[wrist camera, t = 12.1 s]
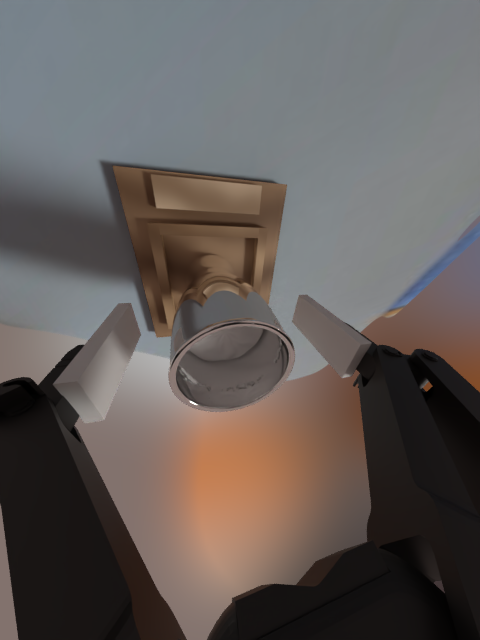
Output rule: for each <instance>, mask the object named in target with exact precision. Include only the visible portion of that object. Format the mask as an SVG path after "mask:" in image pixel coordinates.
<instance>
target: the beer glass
mask: <svg viewBox="0 0 480 640" xmlns="http://www.w3.org/2000/svg"><path fill="white" fill-rule="evenodd" d="M186 285H187V288H186V289H185V291H184V292H183V294H182V296H181V298H180V300H179V302H178V305H177V307H176V311H175V315H174V319H173V325H172V333H171V348H170V368H169V384H170V387H171V389H172V391H173V393H174V394H175V395H176V397H178V399H179V400H181V401H182V402H183V403H185V404H186V405H188V406H190V407H193V408H196V409H199V410H204V411H210V412H224V411H232V410H237V409H241V408H244V407H248V406H250V405H253V404H255V403H257V402H259V401H261V400H263V399H265V398H266V397H268V396H269V395H271V394H272V393H273V392H275V391H276V390H277V389H278V388H279V387H280V386H281V385H282V384H283V383H284V382H285V381H286V379H287V378H288V376H289V374H290V373H291V371H292V368H293V365H294V361H295V350H294V346H293V343H292V341H291V339H290V338H289V336H288V335H287V334H286V333H285V331H284V330H283V328H282V326H281V325H280V323H279V321H278V319H277V318H276V316H275V315H274V313H273V311H272V310H271V308H270V307H269V306H268V304H267V303H266V301H265V300H264V299H263V297H262V296H261V295H260V294H259V293H258V292H257V291H256V290H255V289H254V288H253V287H252V286H251V285H250V284H248V283H247V282H246V281H244V280H243V279H241V278H239V277H238V276H236V275H235V272H234V269H233V267H232V266H231V264H230V263H229V262H228V261H227V260H226V259H224V258H222V257H220V256H217V255H203V256H200V257H198V258H197V259H195V260H194V261H193V262H192V263H191V264H190V266H189V267H188V269H187V272H186Z"/></svg>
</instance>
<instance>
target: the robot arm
mask: <svg viewBox="0 0 480 640" xmlns="http://www.w3.org/2000/svg"><path fill="white" fill-rule="evenodd" d="M292 322H293V323H294V324H295V326H296V327H297V328H298V329H299V330H300V331H301V332H302V334H303V335H304V336H305V337H306V338H307V339H308V340H309V341H310V343H311V344H312V345H313V346H314V347H315V348H316V349H317V350H318V352H319V353H320V354H321V355H322V356H323V357H324V358H325V359H326V361H327V362H328V363H329V364H330V365H331V366H332V367H333V368H334V369H335V371H336V372H337V373H338V374H339V375H340V376H341V377H342V378H345V377H350V376H352V375H353V374H354V372H355V370H357V371H359V373H360V374H359V376H358V377H357V379H356V380H355V382H354V384H353V386H355V385H356V384H359V386H358V388H359V393H360V403H361V412H362V421H363V431H364V440H365V450H366V459H367V469H368V478H369V488H370V497H371V513H370V516H369V519H368V523H367V542H365V543H362V544H359V545H356V546H353V547H350V548H347V549H344V550H341V551H338V552H336V553H334V554H331V555H329V556H327V557H325V558H322V559H320V560H318V561H316V562H315V563H314V564H313V565H312V567H311V568H310V569H309V570H308V571H307V572H306V574H305V575H304V576H303V577H302V578H301V579H300V581H299V582H298V583H297V584H296V585H284V584H269V585H261V586H259V587H256V588H254V589H252V590H250V591H248V592H245V593H243V594H241V595H238V596H236V597H234V598H232V603H231V604H230V605H229V606H228V607H227V608H226V610H225V611H224V612H223V613H222V615H221V616H220V618H219V619H218V620H217V622H216V624H215V625H214V627H213V629H212V631H211V632H210V634H209V636H208V639H207V640H480V392H479V391H478V390H476V389H475V388H474V387H473V386H472V385H471V384H470V383H469V382H468V381H467V380H465V379H464V378H463V377H462V376H461V375H460V374H459V373H458V372H457V371H456V370H454V369H453V368H452V367H451V366H450V365H449V364H448V363H447V362H446V361H445V360H444V359H442V358H441V357H440V356H438V355H436V354H435V353H433V352H430V351H428V350H423V349H416V350H414V352H413V353H412V354H411V355H404V354H402V353H401V352H400V351H398V350H396V349H395V348H392V347H390V346H386V345H379V346H377V345H376V344H375V343H374V342H372V341H371V340H369V339H368V338H367V337H365V336H364V335H363V334H361V333H360V332H358V331H357V330H355V329H354V328H353V327H352V326H350V325H349V324H347V323H345V322H343V321H342V320H340V319H339V318H337V317H336V316H335V315H333V314H332V313H331V312H329V311H328V310H327V309H325V308H324V307H323V306H321V305H320V304H319V303H317V302H316V301H315V300H313V299H312V298H311V297H309V296H308V295H299V297H298V301H297V305H296V309H295V313H294V316H293V320H292ZM140 336H141V333H140V330H139V327H138V324H137V321H136V318H135V315H134V311H133V308H132V305H131V303H121V304H118V305H117V306H116V307H115V308H114V310H113V311H112V312H111V313H110V315H109V316H108V317H107V318H106V320H105V321H104V322H103V323H102V324H101V326H100V327H99V328H98V329H97V331H96V332H95V333H94V334H93V335H92V337H91V338H90V339H89V340H88V342H87V343H86V344H85V345H78V346H76V347H75V348H73V349H72V350H70V351H69V352H68V353H67V354H66V355H65V356H64V357H63V358H62V359H61V361H60V362H59V363H58V364H57V365H56V366H55V368H53V369H52V371H51V372H50V373H49V374H48V375H47V376H46V377H45V378H44V380H43V381H42V382H41V383H40V384H39V385H37V384H36V383H35V382H34V381H33V380H32V379H31V378H27V377H21V378H16V379H12V380H9V381H6V382H3V383H1V384H0V503H1V508H2V516H3V524H4V531H5V539H6V547H7V554H8V562H9V569H10V577H11V585H12V593H13V601H14V607H15V616H16V623H17V631H18V639H19V640H187V639H186V637H185V635H184V634H183V631H182V629H181V628H180V626H179V624H178V622H177V620H176V618H175V616H174V614H173V612H172V611H171V609H170V607H169V606H168V604H167V603H166V601H165V600H164V599H163V597H162V596H161V595H160V593H159V591H158V590H157V588H156V586H155V584H154V582H153V580H152V578H151V576H150V574H149V572H148V570H147V568H146V566H145V564H144V562H143V560H142V558H141V556H140V554H139V552H138V550H137V548H136V546H135V544H134V542H133V540H132V538H131V536H130V534H129V532H128V530H127V528H126V526H125V524H124V522H123V520H122V518H121V516H120V514H119V512H118V510H117V508H116V506H115V504H114V502H113V500H112V498H111V496H110V494H109V492H108V490H107V488H106V486H105V484H104V482H103V480H102V478H101V476H100V474H99V472H98V470H97V468H96V466H95V464H94V462H93V460H92V458H91V456H90V454H89V452H88V450H87V448H86V446H85V444H84V442H83V440H82V438H81V436H80V434H79V432H78V430H77V428H76V427H75V426H74V425H75V423H76V421H77V420H78V418H79V417H80V418H81V419H82V420H83V422H84V423H90V422H96V421H101V420H104V419H105V417H106V415H107V412H108V410H109V408H110V405H111V403H112V400H113V398H114V396H115V394H116V391H117V389H118V387H119V384H120V382H121V380H122V377H123V375H124V373H125V370H126V368H127V366H128V363H129V361H130V359H131V356H132V354H133V352H134V350H135V347H136V345H137V343H138V340H139V338H140ZM428 382H430V383H431V384H432V386H433V387H432V388H430V389H429V390H428V391H427V392H426V391H425V390H424V389H423V387H424V386H425V385H426V384H427V383H428ZM440 580H442V584H443V587H444V591H445V593H444V592H442V591H441V590H440V589H439V588H438V587H437V586H436V585H435V584H434V582H435V581H440Z"/></svg>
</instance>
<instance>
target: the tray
mask: <svg viewBox="0 0 480 640" xmlns="http://www.w3.org/2000/svg"><path fill="white" fill-rule="evenodd" d="M113 170H114V174H115V178H116V182H117V186H118V189H119V193H120V197H121V201H122V205H123V209H124V213H125V217H126V220H127V224H128V228H129V232H130V236H131V240H132V244H133V248H134V251H135V255H136V259H137V263H138V267H139V271H140V275H141V279H142V282H143V286H144V290H145V294H146V298H147V302H148V306H149V310H150V313H151V317H152V321H153V325H154V329H155V333H156V337H167V336H171V333H172V325H173V319H174V315H175V311H176V307H177V305H178V302H179V300H180V298H181V296H182V294H183V292H184V291H185V289H186V288H187V285H186V272H187V269H188V267H189V266H190V264H191V263H192V262H193V261H194V260H195V259H197V258H198V257H200V256H203V255H217V256H220V257H222V258H224V259H226V260H227V261H228V262H229V263H230V264H231V266H232V267H233V269H234V272H235V275H236V276H238V277H239V278H241V279H243V280H244V281H246V282H247V283H248V284H250V285H251V286H252V287H253V288H254V289H255V290H256V291H257V292H258V293H259V294H260V295H261V296H262V297H263V299H264V300H265V301H266V303H267V304H269V297H270V291H271V285H272V278H273V272H274V265H275V259H276V253H277V246H278V240H279V233H280V227H281V220H282V214H283V208H284V201H285V195H286V188H287V185H284V184H275V183H266V182H257V181H248V180H239V179H230V178H221V177H212V176H202V175H193V174H184V173H175V172H166V171H157V170H148V169H139V168H130V167H121V166H113Z"/></svg>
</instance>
